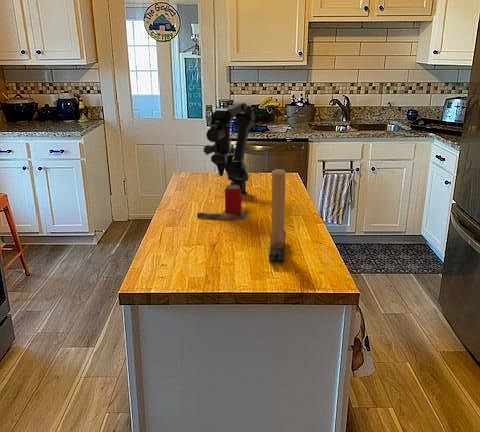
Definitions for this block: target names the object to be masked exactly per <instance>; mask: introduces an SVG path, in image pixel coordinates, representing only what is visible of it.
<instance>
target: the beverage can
mask: <svg viewBox="0 0 480 432" xmlns="http://www.w3.org/2000/svg"><path fill="white" fill-rule="evenodd" d="M224 210H225V213H226V214H236V216H238V215H239V214H241V211H242V194H241V189H240V186H239V185H230V184H228V185H226V187H225V188H224Z"/></svg>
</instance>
